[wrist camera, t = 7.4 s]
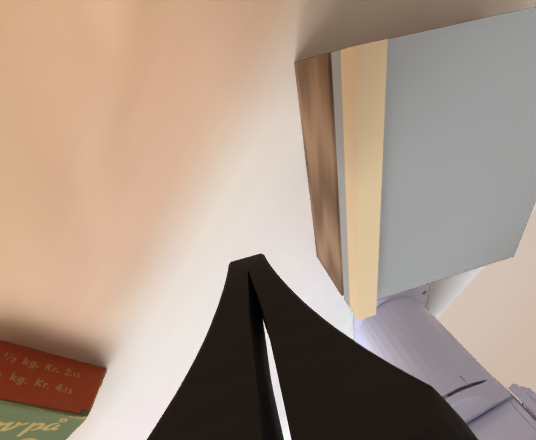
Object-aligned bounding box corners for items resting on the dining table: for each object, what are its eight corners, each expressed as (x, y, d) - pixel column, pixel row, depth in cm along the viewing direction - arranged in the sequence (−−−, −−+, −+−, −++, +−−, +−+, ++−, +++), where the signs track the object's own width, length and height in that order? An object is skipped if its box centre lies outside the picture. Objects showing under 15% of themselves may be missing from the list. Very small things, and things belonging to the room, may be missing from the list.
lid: (501, 249, 18) (529, 265, 16) (344, 298, 17) (357, 320, 15) (592, -6, 11) (657, -21, 9) (331, 52, 10) (354, 46, 8)
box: (446, 218, 22) (497, 247, 18) (317, 256, 21) (341, 295, 17) (485, 20, 15) (583, -3, 11) (294, 62, 14) (327, 53, 10)
